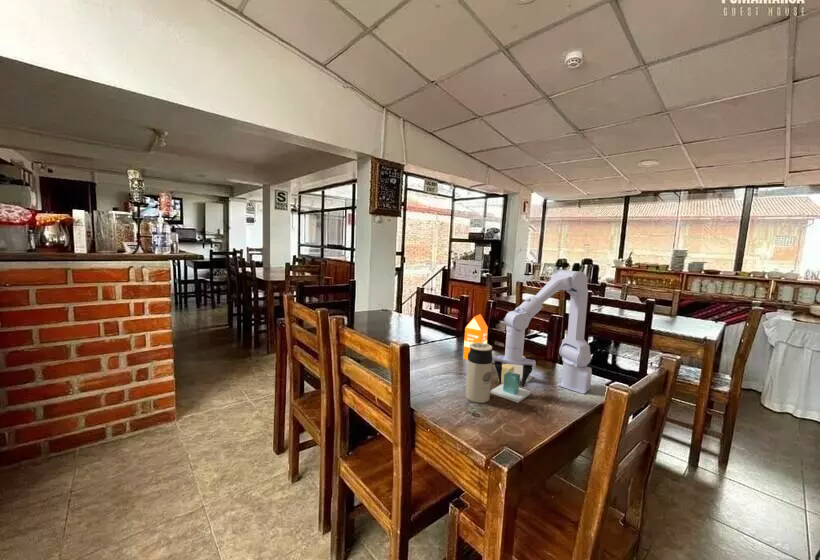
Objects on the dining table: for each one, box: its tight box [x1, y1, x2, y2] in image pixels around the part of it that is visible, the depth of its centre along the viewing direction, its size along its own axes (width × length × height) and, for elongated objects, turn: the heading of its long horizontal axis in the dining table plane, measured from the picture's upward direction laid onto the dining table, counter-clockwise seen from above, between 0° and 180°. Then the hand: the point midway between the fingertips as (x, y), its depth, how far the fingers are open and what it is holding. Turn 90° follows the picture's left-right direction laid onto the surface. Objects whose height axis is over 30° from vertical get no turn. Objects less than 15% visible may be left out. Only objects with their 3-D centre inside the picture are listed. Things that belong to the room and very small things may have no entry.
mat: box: [490, 383, 532, 404], centre depth 114 cm, size 10×10×1 cm
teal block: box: [502, 371, 521, 395], centre depth 114 cm, size 4×4×6 cm
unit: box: [506, 363, 534, 383], centre depth 129 cm, size 10×5×7 cm, turn 46°
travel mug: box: [465, 343, 493, 404], centre depth 108 cm, size 8×8×18 cm
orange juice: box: [462, 313, 489, 361], centre depth 147 cm, size 8×9×20 cm
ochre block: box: [497, 363, 514, 384], centre depth 124 cm, size 4×4×6 cm
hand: (511, 384), depth 114 cm, fingers open, 7 cm apart
